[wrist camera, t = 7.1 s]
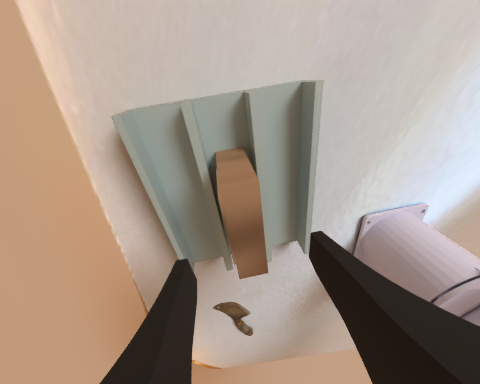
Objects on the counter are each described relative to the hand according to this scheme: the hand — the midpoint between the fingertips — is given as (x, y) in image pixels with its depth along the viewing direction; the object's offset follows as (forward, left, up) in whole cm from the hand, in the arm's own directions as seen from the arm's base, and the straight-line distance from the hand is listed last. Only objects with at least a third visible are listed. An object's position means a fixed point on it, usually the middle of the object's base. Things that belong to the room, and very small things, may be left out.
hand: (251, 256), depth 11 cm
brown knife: (-24, +4, -9) cm, 26 cm away
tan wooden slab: (0, 0, -7) cm, 7 cm away
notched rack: (0, 0, -8) cm, 8 cm away
